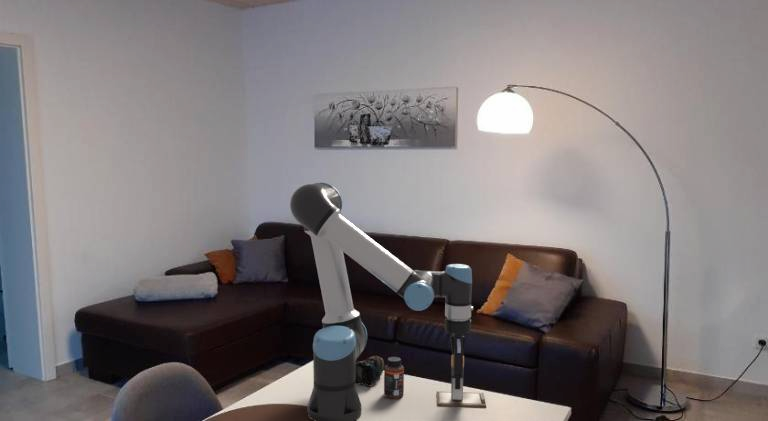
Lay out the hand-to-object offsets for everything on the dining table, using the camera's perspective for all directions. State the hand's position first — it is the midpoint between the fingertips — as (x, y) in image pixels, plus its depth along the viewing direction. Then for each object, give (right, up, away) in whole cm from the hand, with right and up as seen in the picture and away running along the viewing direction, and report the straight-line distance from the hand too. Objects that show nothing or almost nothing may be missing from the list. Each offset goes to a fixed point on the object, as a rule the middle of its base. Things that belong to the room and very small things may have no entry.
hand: (456, 395), depth 169 cm
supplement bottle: (-18, -2, +5) cm, 19 cm away
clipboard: (+1, -2, +2) cm, 3 cm away
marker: (0, -1, 0) cm, 1 cm away
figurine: (-26, -1, +18) cm, 31 cm away
